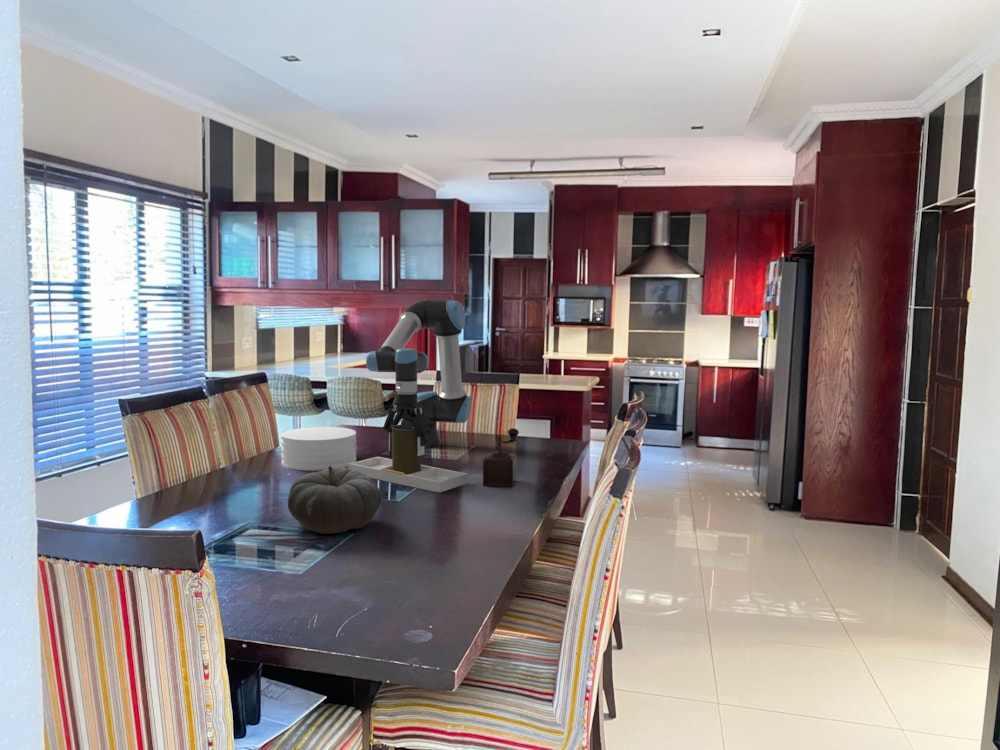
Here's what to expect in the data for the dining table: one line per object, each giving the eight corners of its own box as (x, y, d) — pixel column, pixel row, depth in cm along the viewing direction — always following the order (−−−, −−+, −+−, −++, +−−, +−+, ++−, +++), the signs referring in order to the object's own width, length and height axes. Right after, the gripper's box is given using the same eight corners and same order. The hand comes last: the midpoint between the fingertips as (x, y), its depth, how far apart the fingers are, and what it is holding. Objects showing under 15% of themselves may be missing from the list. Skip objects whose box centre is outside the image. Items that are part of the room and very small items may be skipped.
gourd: (345, 497, 211) (345, 444, 206) (400, 528, 196) (402, 471, 191) (271, 524, 193) (270, 467, 188) (326, 560, 178) (326, 499, 173)
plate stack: (365, 455, 282) (364, 427, 281) (343, 472, 255) (342, 441, 254) (298, 453, 285) (297, 425, 284) (269, 469, 257) (268, 438, 256)
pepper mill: (514, 487, 235) (515, 435, 234) (482, 486, 237) (482, 434, 235) (518, 476, 251) (519, 427, 249) (488, 475, 252) (489, 426, 250)
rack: (348, 473, 252) (348, 462, 252) (377, 465, 265) (377, 455, 264) (439, 492, 228) (439, 480, 228) (467, 483, 240) (467, 472, 240)
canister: (424, 472, 251) (424, 417, 249) (418, 479, 240) (417, 422, 238) (394, 471, 252) (394, 416, 250) (387, 478, 242) (386, 421, 239)
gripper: (373, 390, 247) (373, 449, 249) (426, 396, 233) (426, 459, 235) (387, 388, 253) (388, 446, 256) (440, 394, 239) (440, 455, 241)
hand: (406, 452), depth 245 cm, fingers open, 13 cm apart
